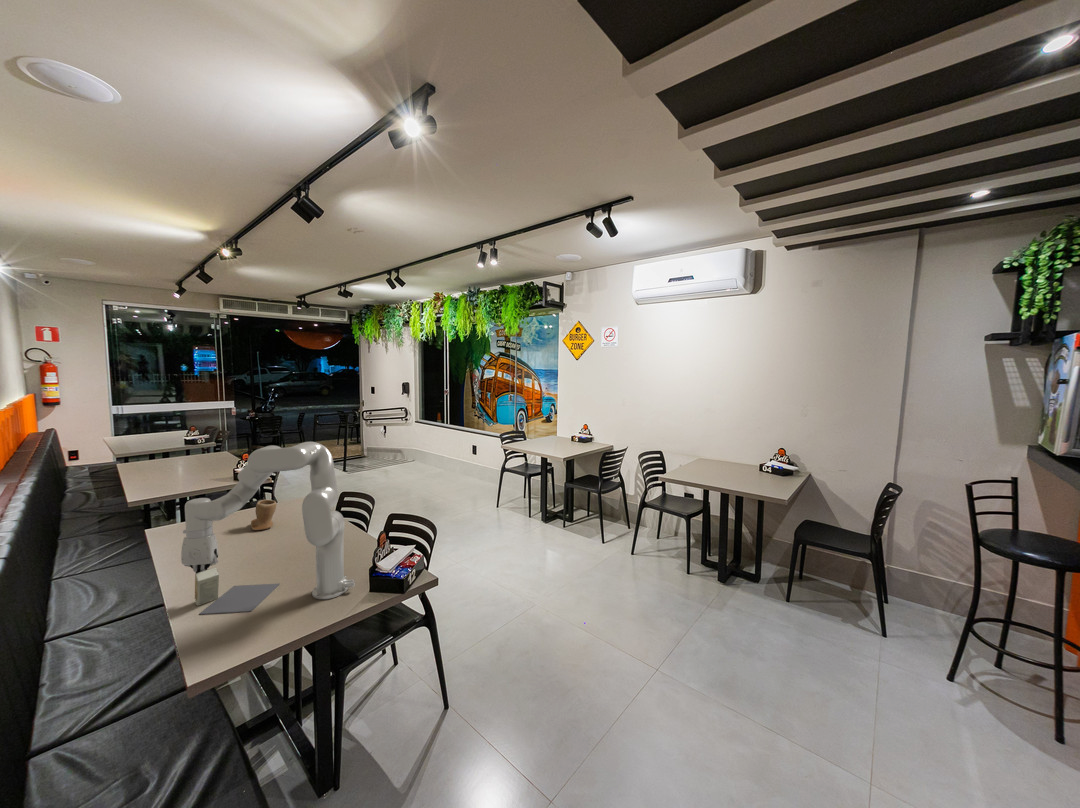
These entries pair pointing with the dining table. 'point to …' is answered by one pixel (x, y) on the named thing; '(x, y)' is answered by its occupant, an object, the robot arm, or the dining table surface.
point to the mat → (240, 599)
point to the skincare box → (206, 586)
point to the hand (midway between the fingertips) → (201, 580)
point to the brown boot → (264, 515)
